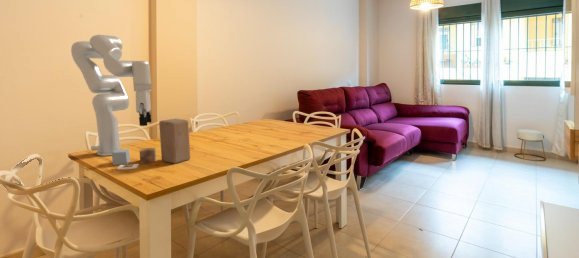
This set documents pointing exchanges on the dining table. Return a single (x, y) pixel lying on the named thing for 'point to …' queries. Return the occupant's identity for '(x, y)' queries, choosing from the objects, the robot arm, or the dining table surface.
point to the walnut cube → (147, 155)
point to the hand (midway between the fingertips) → (145, 123)
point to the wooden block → (174, 140)
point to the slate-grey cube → (121, 157)
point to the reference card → (128, 166)
